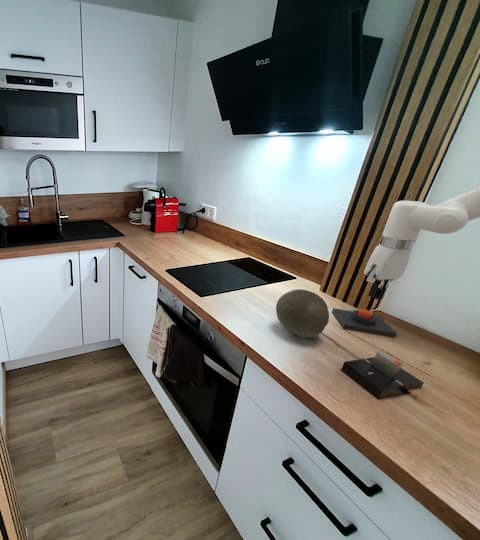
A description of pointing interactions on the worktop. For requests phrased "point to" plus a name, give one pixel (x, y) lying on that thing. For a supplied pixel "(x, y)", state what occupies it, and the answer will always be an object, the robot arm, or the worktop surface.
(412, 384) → the panel
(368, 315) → the kettle button
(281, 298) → the cantaloupe
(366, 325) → the grey flat block
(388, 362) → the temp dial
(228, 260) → the worktop surface
